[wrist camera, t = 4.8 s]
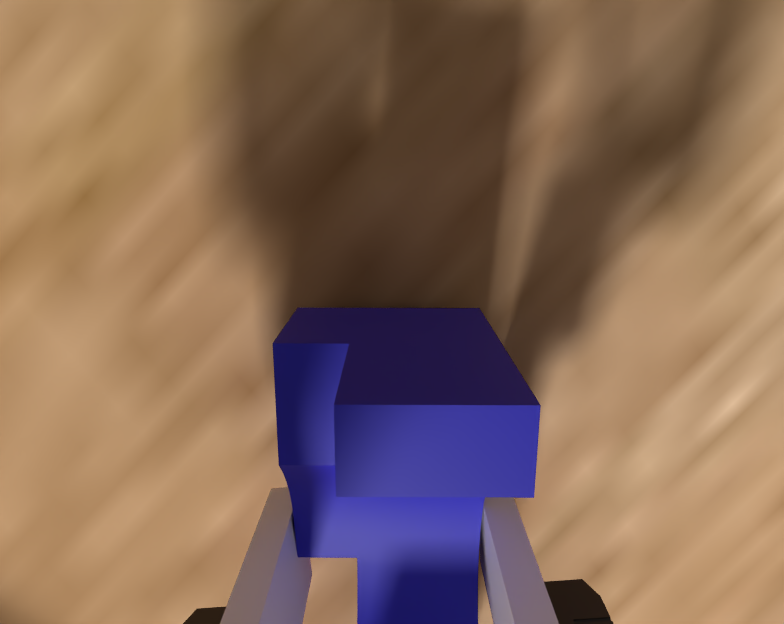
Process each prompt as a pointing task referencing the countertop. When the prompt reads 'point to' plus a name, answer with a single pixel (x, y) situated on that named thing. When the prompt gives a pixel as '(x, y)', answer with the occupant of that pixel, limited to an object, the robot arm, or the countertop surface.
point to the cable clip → (401, 449)
